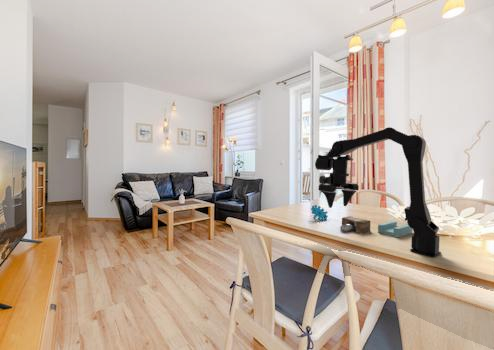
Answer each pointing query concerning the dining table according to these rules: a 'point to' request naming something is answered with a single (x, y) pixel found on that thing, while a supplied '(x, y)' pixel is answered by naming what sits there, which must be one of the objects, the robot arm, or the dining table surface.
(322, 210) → the gear
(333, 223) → the dining table surface
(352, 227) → the axle
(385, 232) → the cradle
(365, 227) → the bearing block
